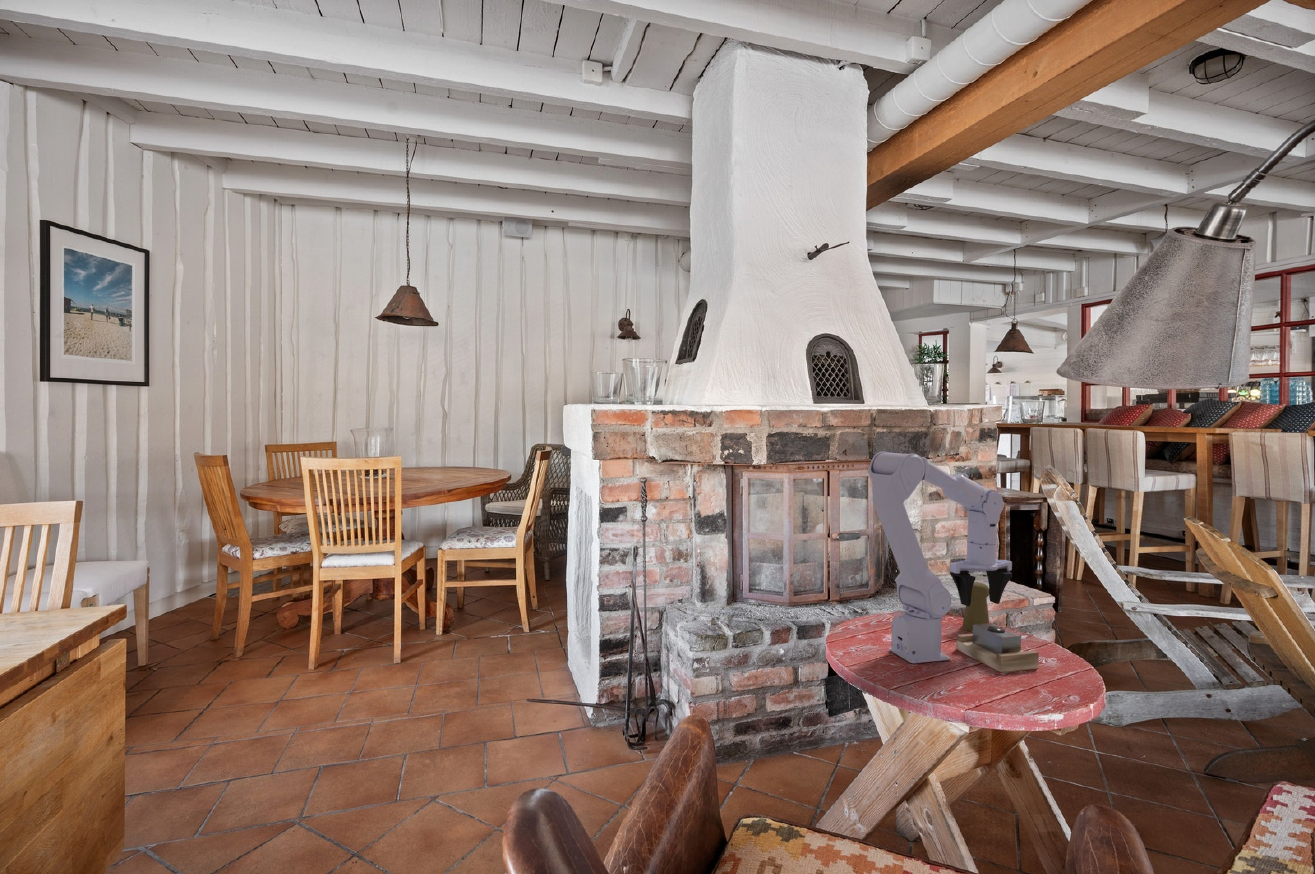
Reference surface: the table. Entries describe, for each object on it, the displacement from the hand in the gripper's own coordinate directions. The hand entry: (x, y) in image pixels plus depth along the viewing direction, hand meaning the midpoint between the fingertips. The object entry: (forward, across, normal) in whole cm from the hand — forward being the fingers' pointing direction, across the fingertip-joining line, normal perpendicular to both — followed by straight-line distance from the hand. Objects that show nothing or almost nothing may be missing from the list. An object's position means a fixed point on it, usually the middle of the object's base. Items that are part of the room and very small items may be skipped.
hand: (980, 603), depth 137 cm
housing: (+7, -2, -7) cm, 10 cm away
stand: (+9, -2, -7) cm, 12 cm away
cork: (+10, +8, +10) cm, 16 cm away
